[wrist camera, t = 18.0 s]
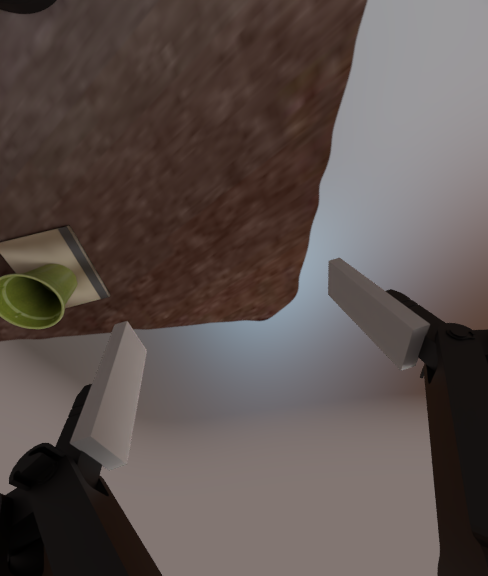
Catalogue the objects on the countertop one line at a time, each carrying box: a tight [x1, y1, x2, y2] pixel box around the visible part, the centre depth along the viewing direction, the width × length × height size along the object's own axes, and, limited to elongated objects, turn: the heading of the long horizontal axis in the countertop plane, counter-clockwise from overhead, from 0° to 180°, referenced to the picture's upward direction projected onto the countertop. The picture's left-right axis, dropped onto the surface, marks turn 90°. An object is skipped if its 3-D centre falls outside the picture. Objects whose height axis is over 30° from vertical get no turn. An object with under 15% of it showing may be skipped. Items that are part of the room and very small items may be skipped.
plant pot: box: [0, 264, 77, 329], centre depth 38 cm, size 9×9×9 cm
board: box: [0, 225, 110, 308], centre depth 41 cm, size 14×12×1 cm
